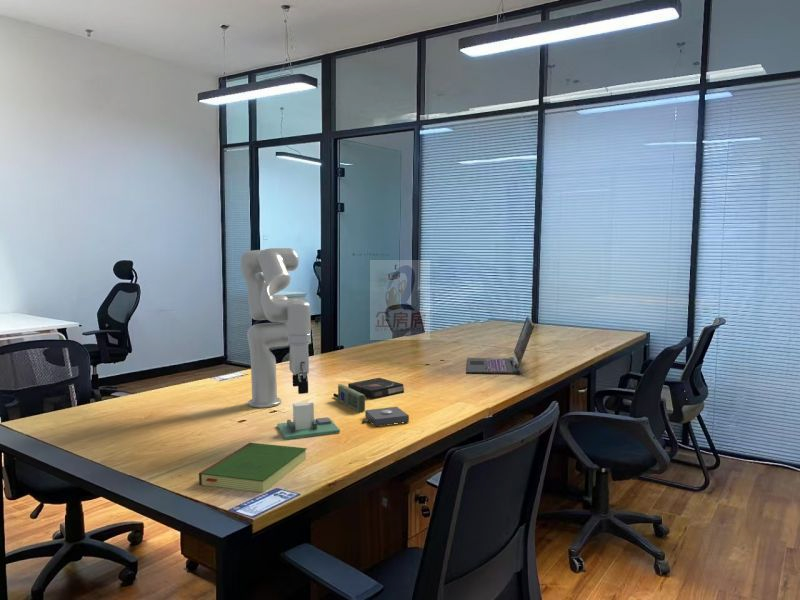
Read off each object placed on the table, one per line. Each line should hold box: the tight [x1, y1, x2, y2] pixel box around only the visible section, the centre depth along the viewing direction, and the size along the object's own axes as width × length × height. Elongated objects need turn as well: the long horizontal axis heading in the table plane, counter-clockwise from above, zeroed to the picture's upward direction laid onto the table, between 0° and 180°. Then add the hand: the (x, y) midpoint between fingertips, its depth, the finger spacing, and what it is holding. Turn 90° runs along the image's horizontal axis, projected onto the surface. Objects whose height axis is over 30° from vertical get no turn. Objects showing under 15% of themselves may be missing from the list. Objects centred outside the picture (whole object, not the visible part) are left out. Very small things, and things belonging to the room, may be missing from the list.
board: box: [277, 416, 341, 441], centre depth 196 cm, size 15×18×3 cm
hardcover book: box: [198, 442, 308, 494], centre depth 159 cm, size 25×19×4 cm
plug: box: [292, 401, 315, 430], centre depth 195 cm, size 4×6×8 cm, turn 110°
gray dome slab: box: [361, 406, 410, 427], centre depth 205 cm, size 12×15×3 cm
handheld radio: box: [333, 383, 366, 413], centre depth 227 cm, size 7×3×25 cm
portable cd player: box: [347, 377, 405, 400], centre depth 245 cm, size 16×17×4 cm
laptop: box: [466, 316, 535, 376], centre depth 292 cm, size 35×32×24 cm
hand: (300, 389), depth 194 cm, fingers open, 9 cm apart
